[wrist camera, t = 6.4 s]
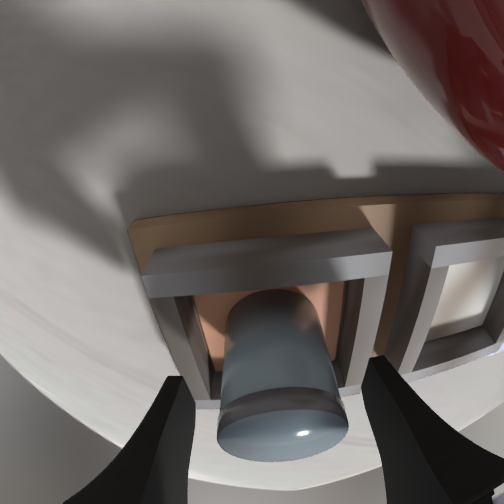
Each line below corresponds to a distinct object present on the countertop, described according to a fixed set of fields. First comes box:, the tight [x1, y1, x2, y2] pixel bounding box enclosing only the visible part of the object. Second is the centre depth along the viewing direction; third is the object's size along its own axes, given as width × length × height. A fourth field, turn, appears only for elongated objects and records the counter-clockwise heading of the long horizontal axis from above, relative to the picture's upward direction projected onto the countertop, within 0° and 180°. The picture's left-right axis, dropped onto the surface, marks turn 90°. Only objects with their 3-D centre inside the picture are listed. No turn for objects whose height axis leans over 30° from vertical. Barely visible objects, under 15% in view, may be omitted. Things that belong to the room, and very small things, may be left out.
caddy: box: [127, 193, 504, 409], centre depth 13 cm, size 22×11×3 cm, turn 96°
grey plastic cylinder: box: [217, 289, 349, 462], centre depth 11 cm, size 4×4×6 cm
